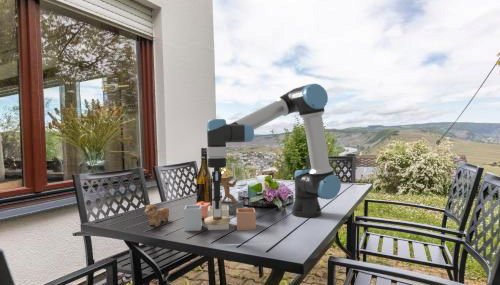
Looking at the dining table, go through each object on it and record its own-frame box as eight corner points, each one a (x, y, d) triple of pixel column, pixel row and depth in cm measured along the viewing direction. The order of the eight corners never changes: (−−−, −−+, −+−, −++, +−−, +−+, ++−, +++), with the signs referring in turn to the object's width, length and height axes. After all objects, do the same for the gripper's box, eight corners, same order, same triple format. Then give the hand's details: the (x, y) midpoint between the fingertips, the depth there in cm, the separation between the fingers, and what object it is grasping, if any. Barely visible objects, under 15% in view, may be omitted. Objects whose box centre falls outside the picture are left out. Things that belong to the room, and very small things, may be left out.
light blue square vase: (202, 227, 136) (201, 205, 136) (200, 231, 129) (200, 208, 129) (186, 227, 135) (185, 205, 135) (184, 232, 128) (183, 209, 128)
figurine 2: (243, 211, 165) (242, 165, 165) (240, 216, 154) (240, 167, 154) (218, 210, 166) (217, 165, 166) (213, 215, 156) (213, 167, 155)
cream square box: (228, 224, 139) (228, 205, 139) (229, 230, 130) (228, 209, 130) (209, 225, 138) (208, 206, 138) (207, 231, 129) (207, 210, 129)
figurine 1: (139, 227, 136) (139, 205, 136) (162, 218, 151) (162, 199, 151) (151, 229, 134) (151, 206, 134) (173, 220, 149) (173, 199, 148)
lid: (230, 217, 127) (229, 198, 127) (230, 224, 117) (230, 204, 117) (205, 218, 126) (205, 199, 126) (203, 225, 116) (203, 204, 116)
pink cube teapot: (213, 220, 147) (212, 203, 146) (189, 220, 148) (189, 203, 148) (216, 216, 154) (216, 200, 154) (194, 216, 156) (193, 200, 156)
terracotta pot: (254, 225, 137) (253, 207, 137) (255, 230, 129) (255, 212, 129) (236, 226, 137) (236, 208, 136) (237, 231, 129) (237, 212, 128)
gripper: (208, 156, 129) (209, 210, 130) (206, 158, 113) (206, 221, 113) (226, 156, 130) (226, 210, 130) (226, 158, 114) (226, 220, 114)
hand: (217, 215), depth 122 cm, fingers closed on lid, 3 cm apart
